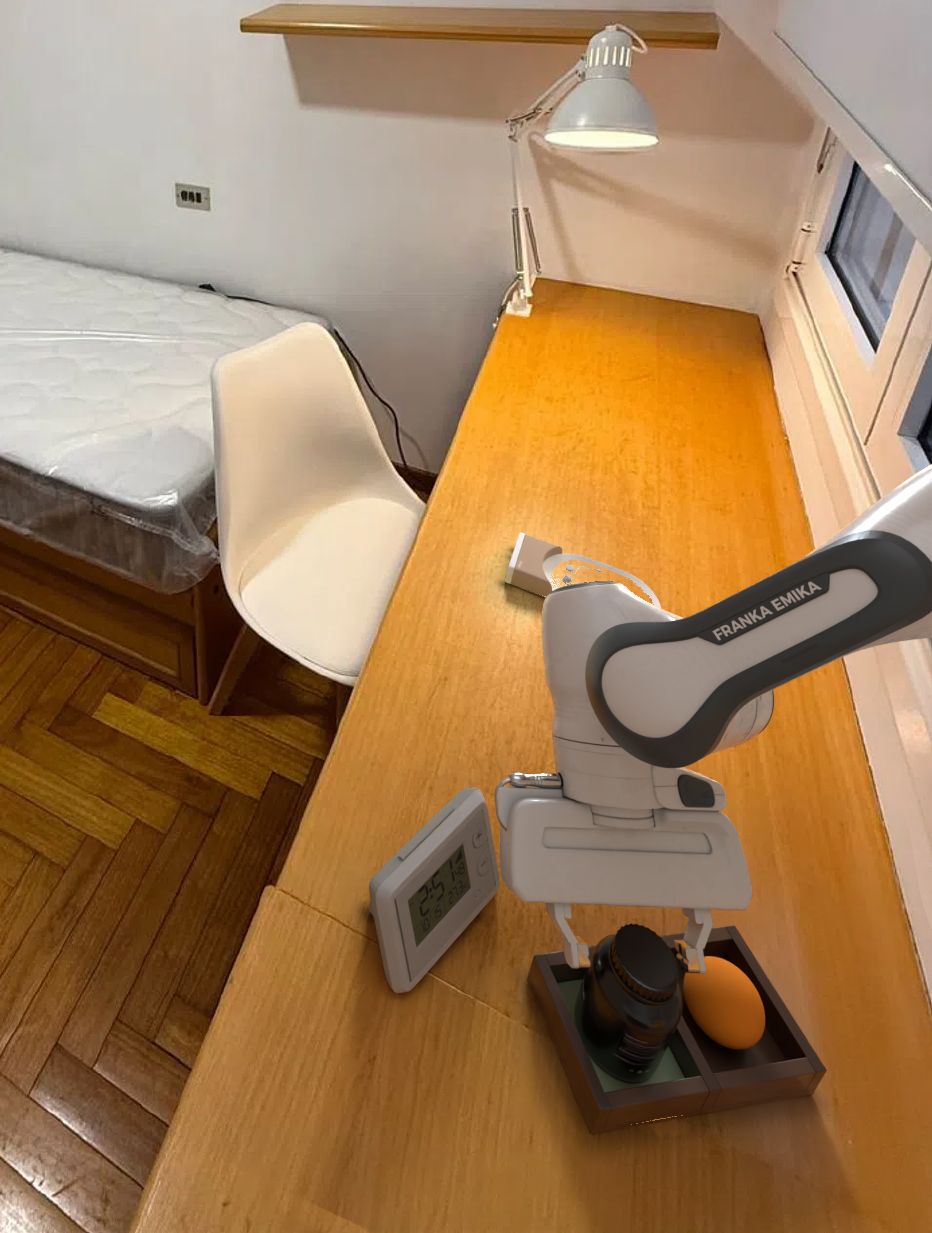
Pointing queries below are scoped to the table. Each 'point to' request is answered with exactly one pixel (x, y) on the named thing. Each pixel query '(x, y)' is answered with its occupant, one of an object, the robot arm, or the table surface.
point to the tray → (679, 1050)
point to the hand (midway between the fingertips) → (635, 968)
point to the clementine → (725, 1004)
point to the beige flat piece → (551, 567)
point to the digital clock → (434, 888)
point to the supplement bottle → (629, 1003)
